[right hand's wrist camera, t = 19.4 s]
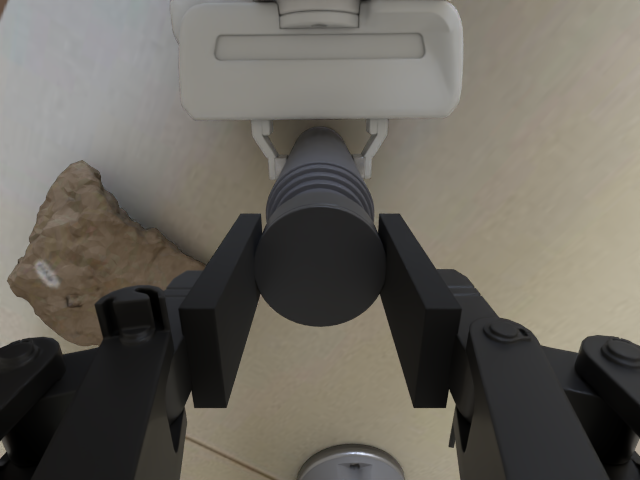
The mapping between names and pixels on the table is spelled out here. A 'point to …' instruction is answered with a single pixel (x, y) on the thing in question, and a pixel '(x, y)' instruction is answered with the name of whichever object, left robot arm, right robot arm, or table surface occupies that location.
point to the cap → (320, 260)
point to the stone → (88, 255)
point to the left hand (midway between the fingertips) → (320, 178)
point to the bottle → (320, 171)
